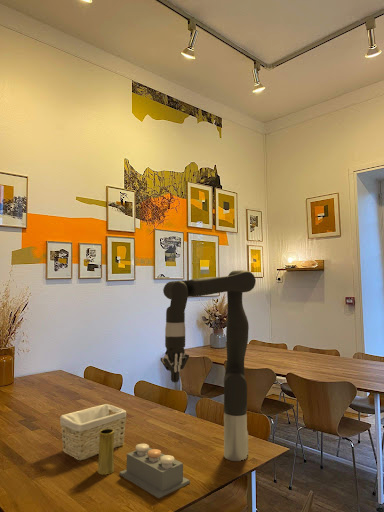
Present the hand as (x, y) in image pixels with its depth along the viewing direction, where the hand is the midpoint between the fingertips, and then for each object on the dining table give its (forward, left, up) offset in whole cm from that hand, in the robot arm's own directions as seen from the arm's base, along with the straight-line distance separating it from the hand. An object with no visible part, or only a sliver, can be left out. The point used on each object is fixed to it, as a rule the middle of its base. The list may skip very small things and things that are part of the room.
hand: (175, 381), depth 140 cm
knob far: (+7, -10, -32) cm, 34 cm away
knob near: (+7, +4, -32) cm, 33 cm away
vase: (+16, -20, -33) cm, 42 cm away
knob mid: (+7, -3, -32) cm, 33 cm away
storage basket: (+9, -41, -33) cm, 54 cm away
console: (+7, -3, -33) cm, 34 cm away
